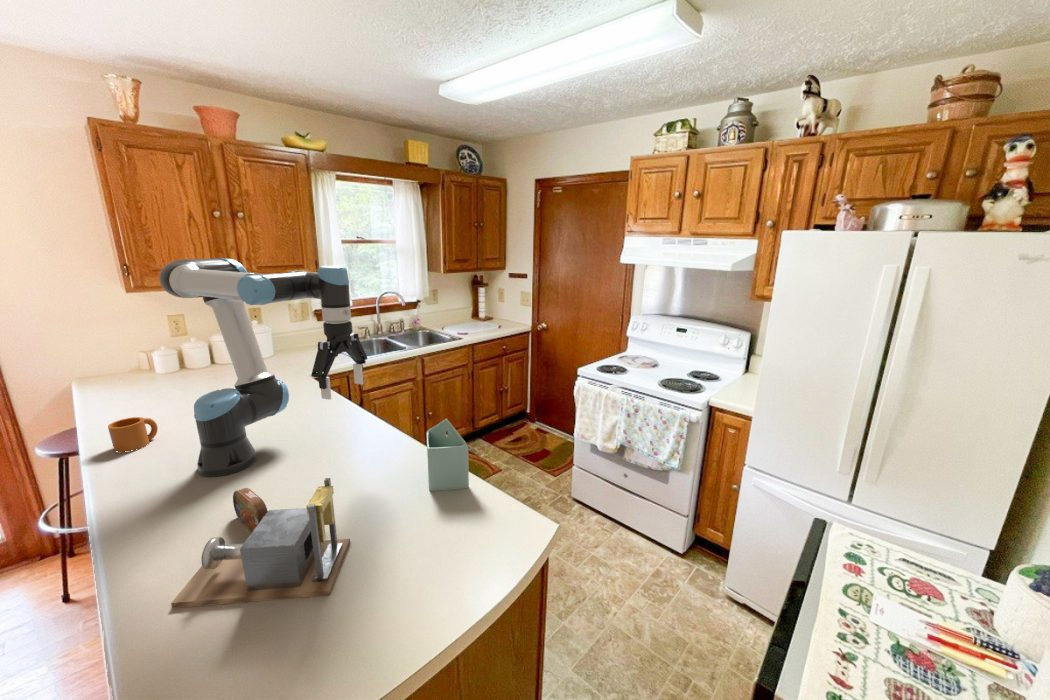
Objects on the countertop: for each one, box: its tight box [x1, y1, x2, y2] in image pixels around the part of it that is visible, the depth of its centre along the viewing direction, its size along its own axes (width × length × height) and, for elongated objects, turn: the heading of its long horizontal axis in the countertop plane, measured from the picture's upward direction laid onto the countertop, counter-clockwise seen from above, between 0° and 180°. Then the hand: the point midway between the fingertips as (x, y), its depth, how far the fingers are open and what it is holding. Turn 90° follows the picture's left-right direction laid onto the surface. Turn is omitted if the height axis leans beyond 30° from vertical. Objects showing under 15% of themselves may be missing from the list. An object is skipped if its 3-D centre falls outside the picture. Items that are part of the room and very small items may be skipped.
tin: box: [232, 487, 269, 533], centre depth 103 cm, size 15×3×8 cm, turn 54°
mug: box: [107, 416, 158, 452], centre depth 140 cm, size 9×12×9 cm
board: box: [170, 538, 351, 609], centre depth 89 cm, size 29×15×1 cm, turn 97°
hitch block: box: [240, 477, 342, 591], centre depth 87 cm, size 15×12×18 cm
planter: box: [426, 418, 470, 492], centre depth 120 cm, size 16×8×20 cm, turn 57°
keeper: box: [305, 485, 335, 543], centre depth 87 cm, size 3×7×9 cm, turn 7°
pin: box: [200, 536, 245, 570], centre depth 87 cm, size 16×6×6 cm, turn 97°
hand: (343, 390), depth 123 cm, fingers open, 13 cm apart
